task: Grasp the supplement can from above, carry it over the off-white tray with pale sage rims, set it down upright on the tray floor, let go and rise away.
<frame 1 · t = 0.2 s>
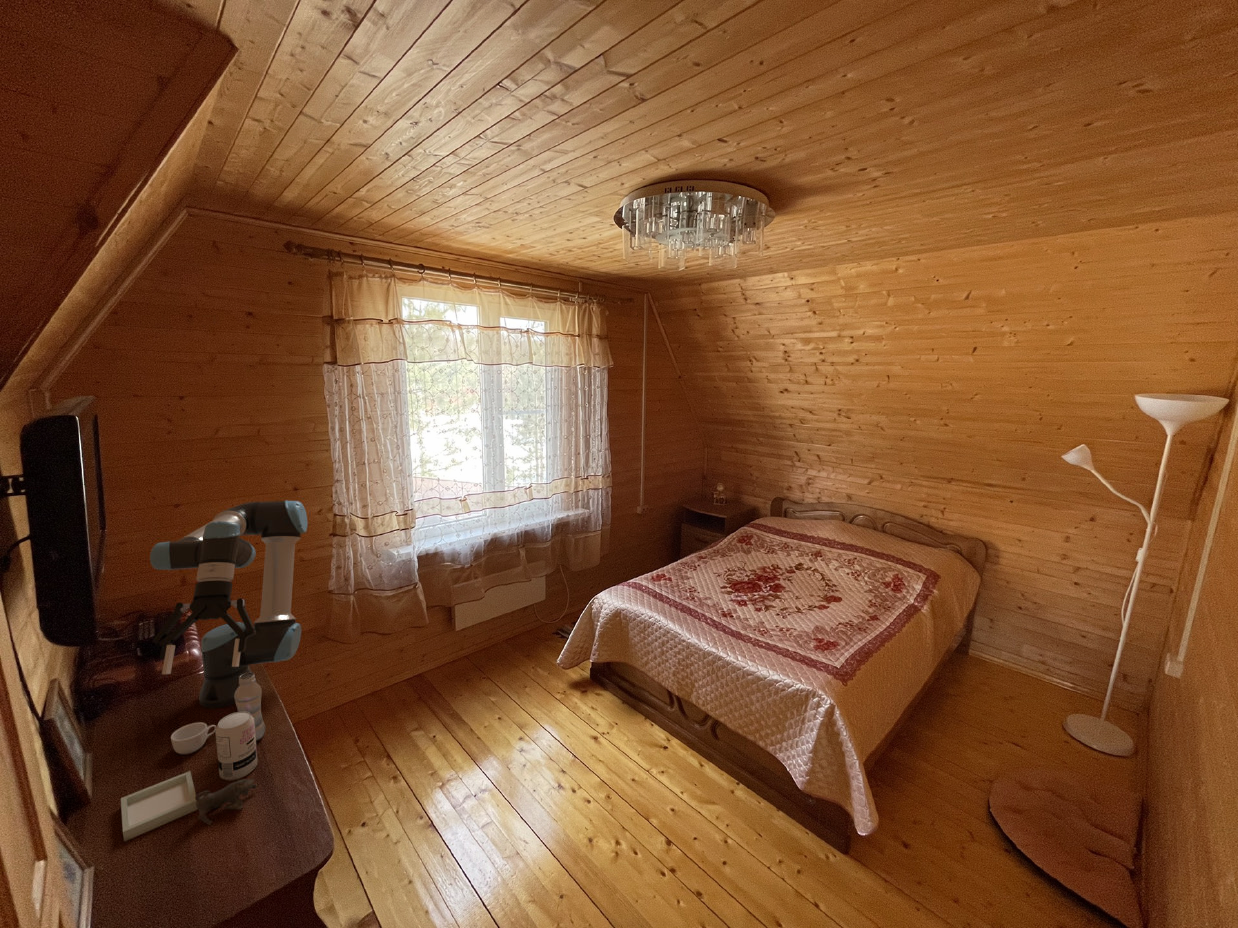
hand: (201, 670, 124), 34 cm above the table, tool tilted 30°, fingers open, 13 cm apart
teacup: (195, 747, 145), on the table
supplement can: (239, 771, 137), on the table
can tray: (160, 808, 124), on the table
plastic bottle: (252, 739, 149), on the table
dog figurine: (229, 809, 125), on the table
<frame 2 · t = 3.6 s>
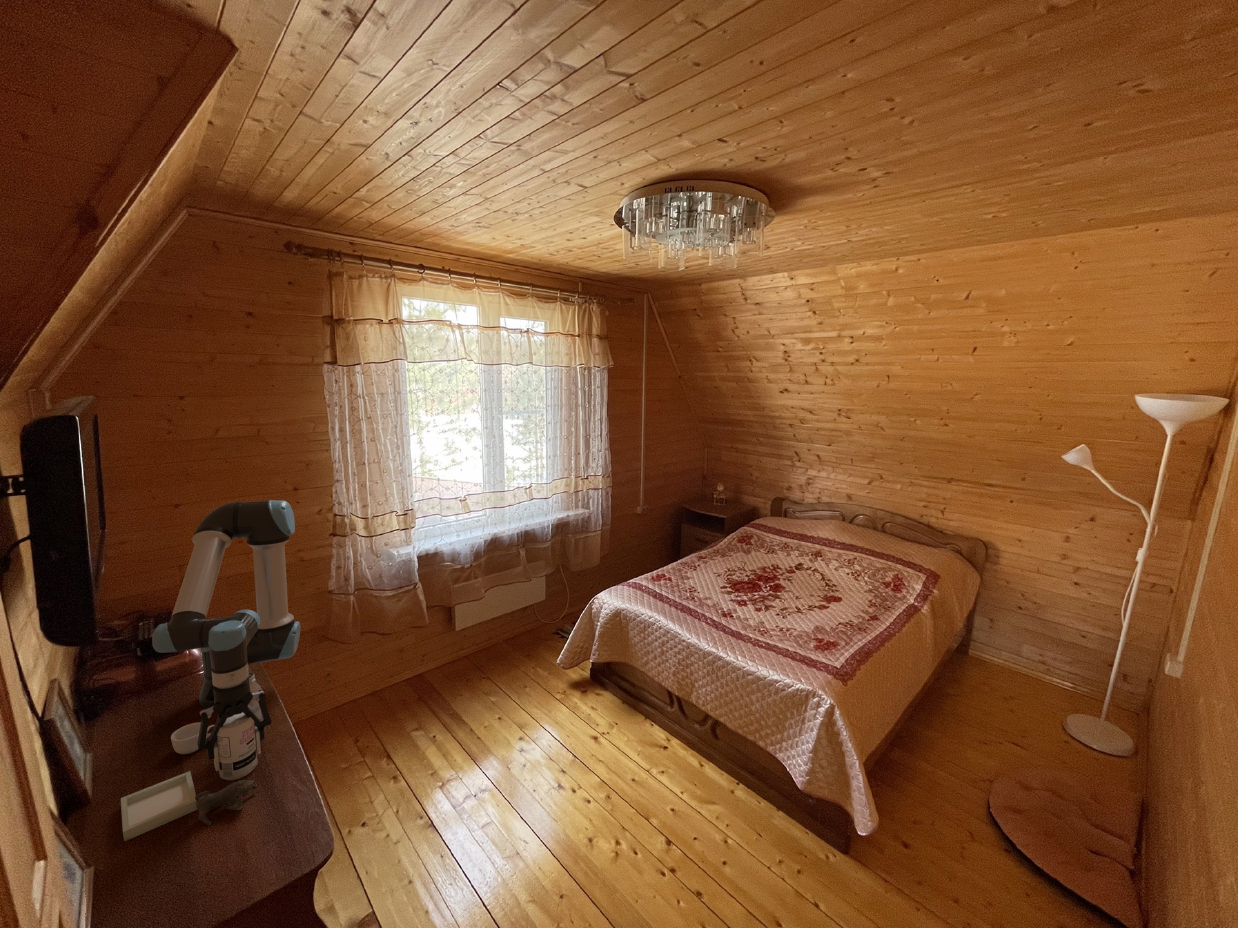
hand: (238, 759, 136), 3 cm above the table, tool pointing down, fingers closed on supplement can, 8 cm apart
supplement can: (239, 771, 137), on the table, touching gripper
everything else where it was.
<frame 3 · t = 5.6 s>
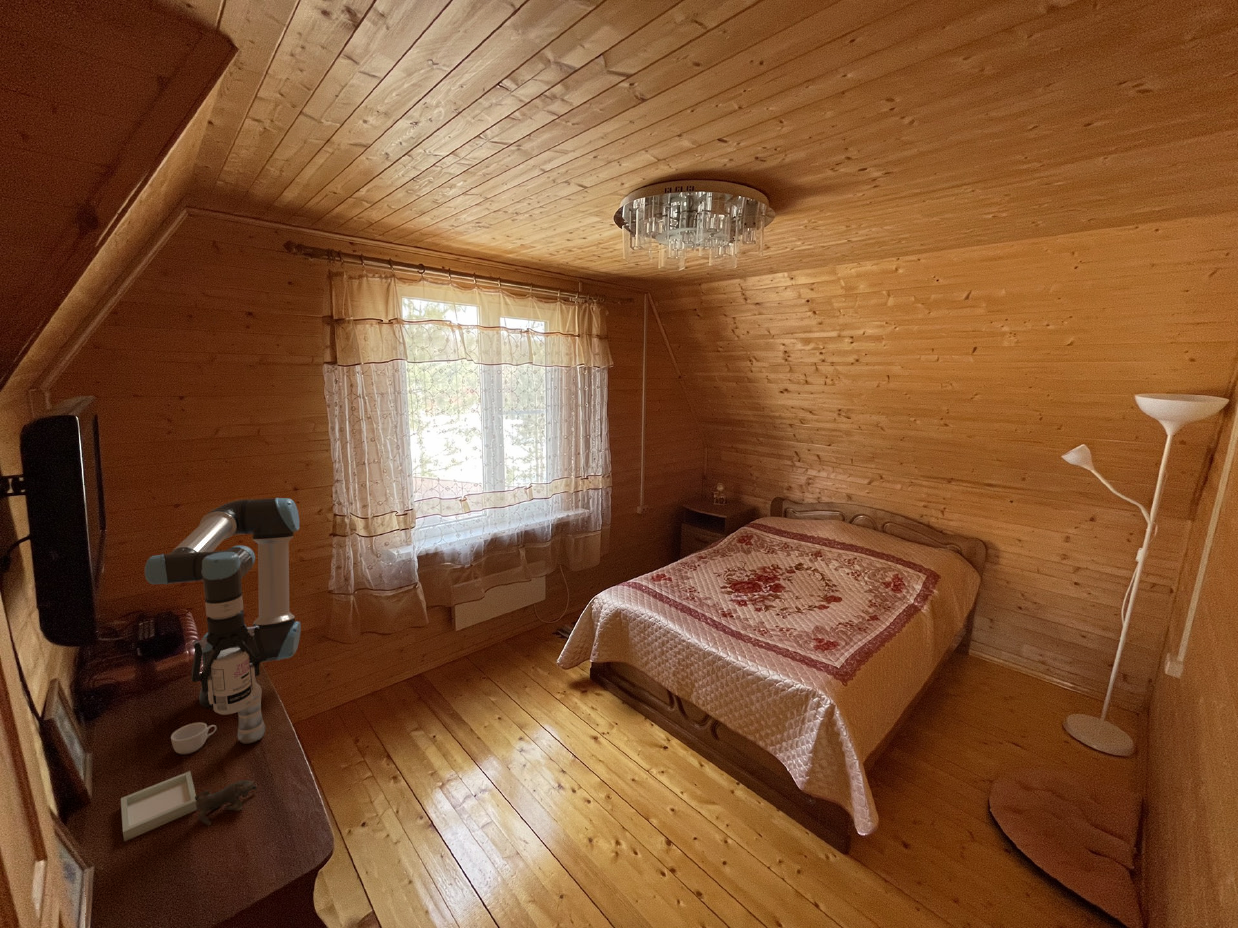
hand: (232, 694, 134), 22 cm above the table, tool pointing down, fingers closed on supplement can, 8 cm apart
supplement can: (233, 706, 134), point 19 cm above the table, touching gripper
everything else where it was.
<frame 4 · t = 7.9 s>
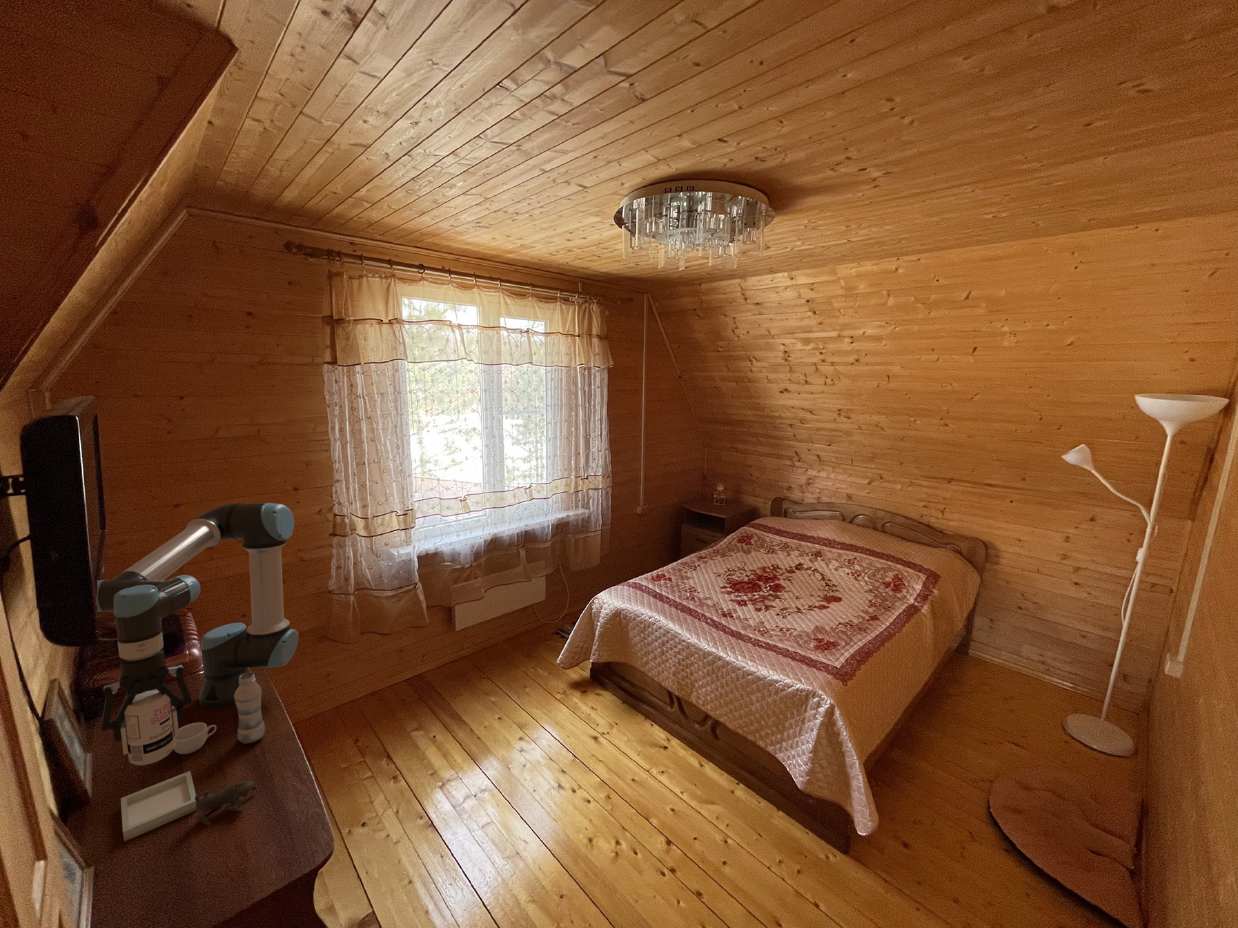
hand: (151, 742, 121), 18 cm above the table, tool pointing down, fingers closed on supplement can, 8 cm apart
supplement can: (153, 755, 122), point 15 cm above the table, touching gripper
everything else where it was.
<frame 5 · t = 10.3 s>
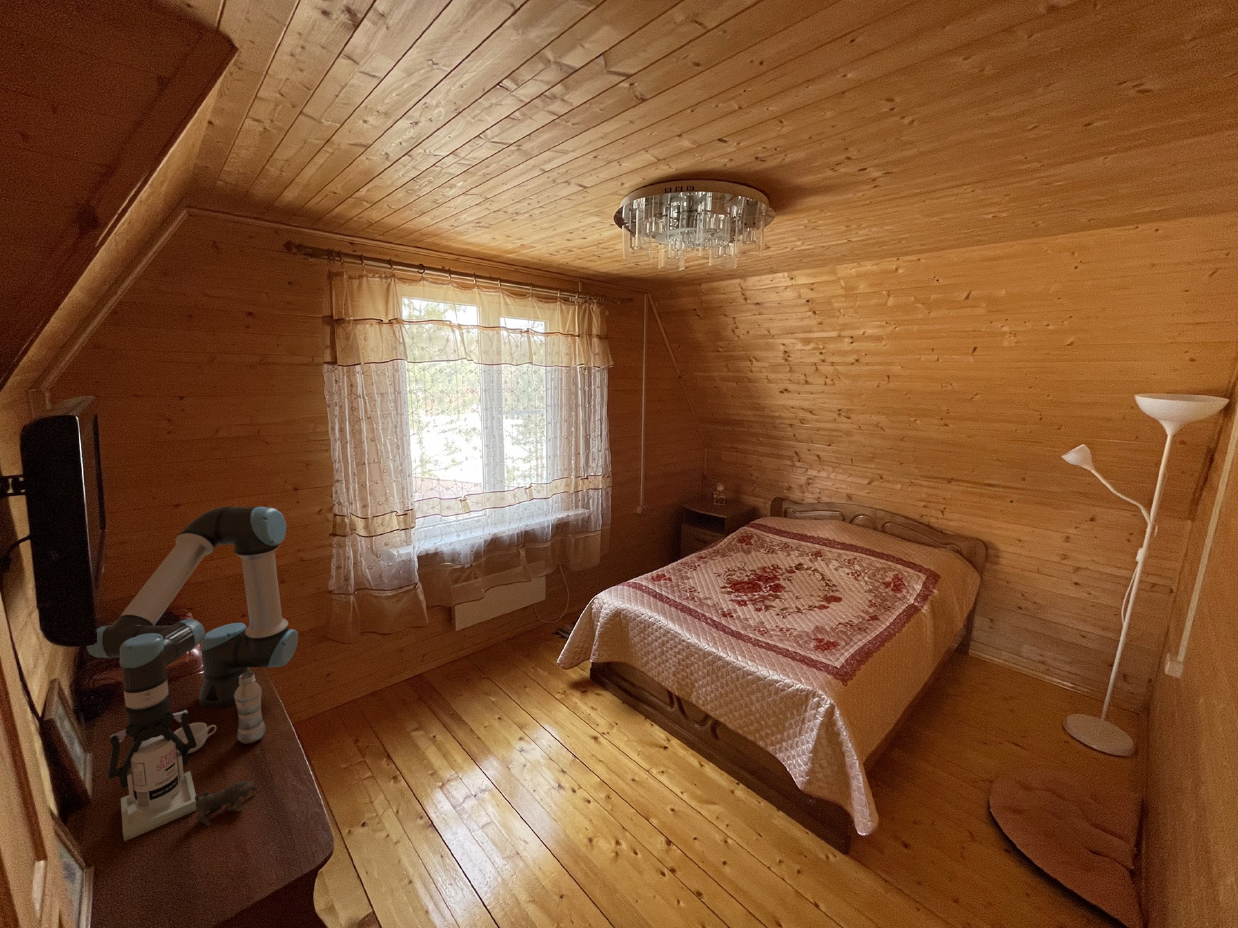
hand: (157, 786, 123), 6 cm above the table, tool pointing down, fingers closed on supplement can, 8 cm apart
supplement can: (158, 799, 124), point 2 cm above the table, touching gripper
everything else where it was.
when the fingers open (4 cm above the table, at t = 12.2 s): supplement can stays where it is, resting on can tray.
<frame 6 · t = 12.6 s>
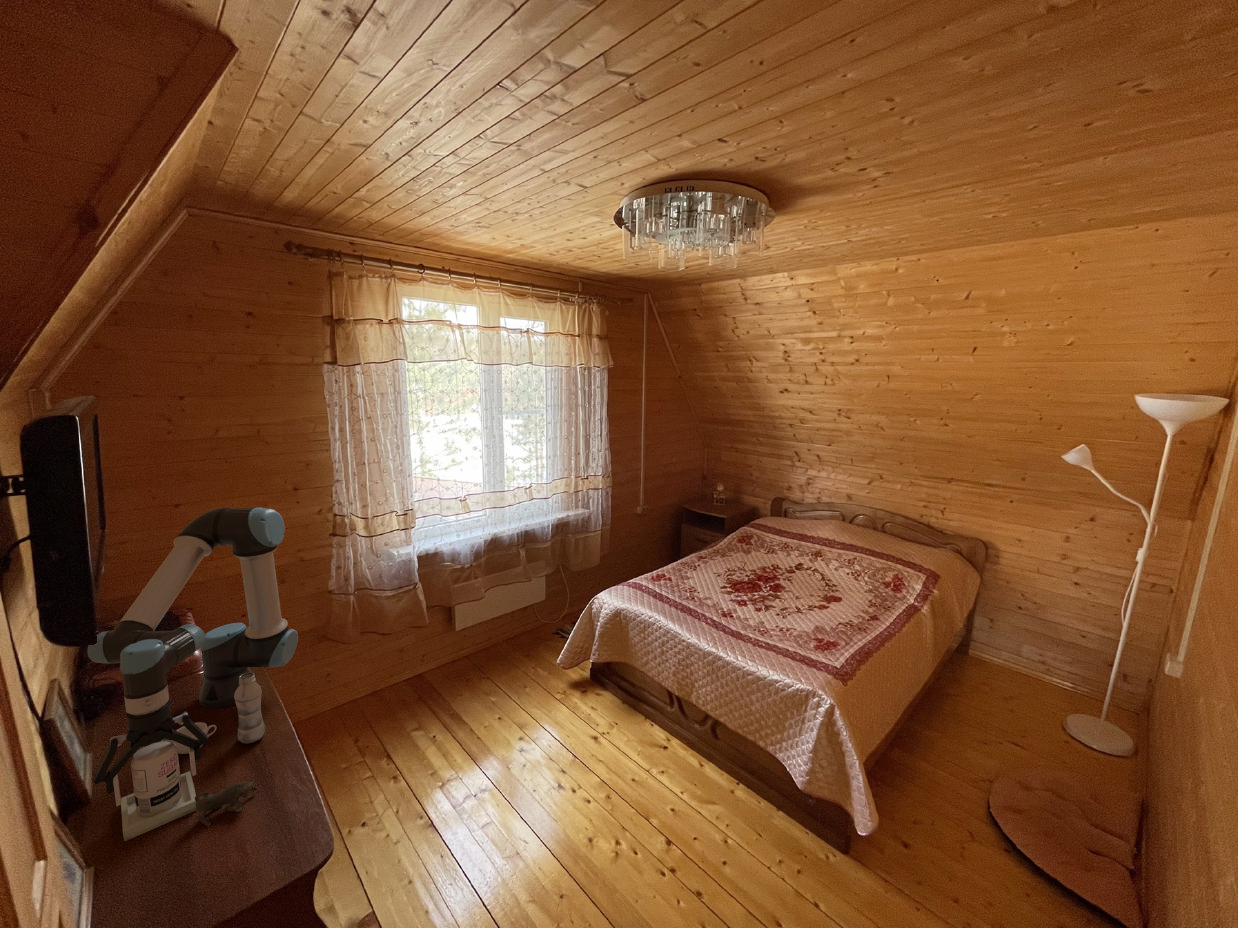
hand: (157, 786, 123), 6 cm above the table, tool pointing down, fingers open, 13 cm apart
supplement can: (160, 806, 124), point 1 cm above the table, touching can tray
everything else where it was.
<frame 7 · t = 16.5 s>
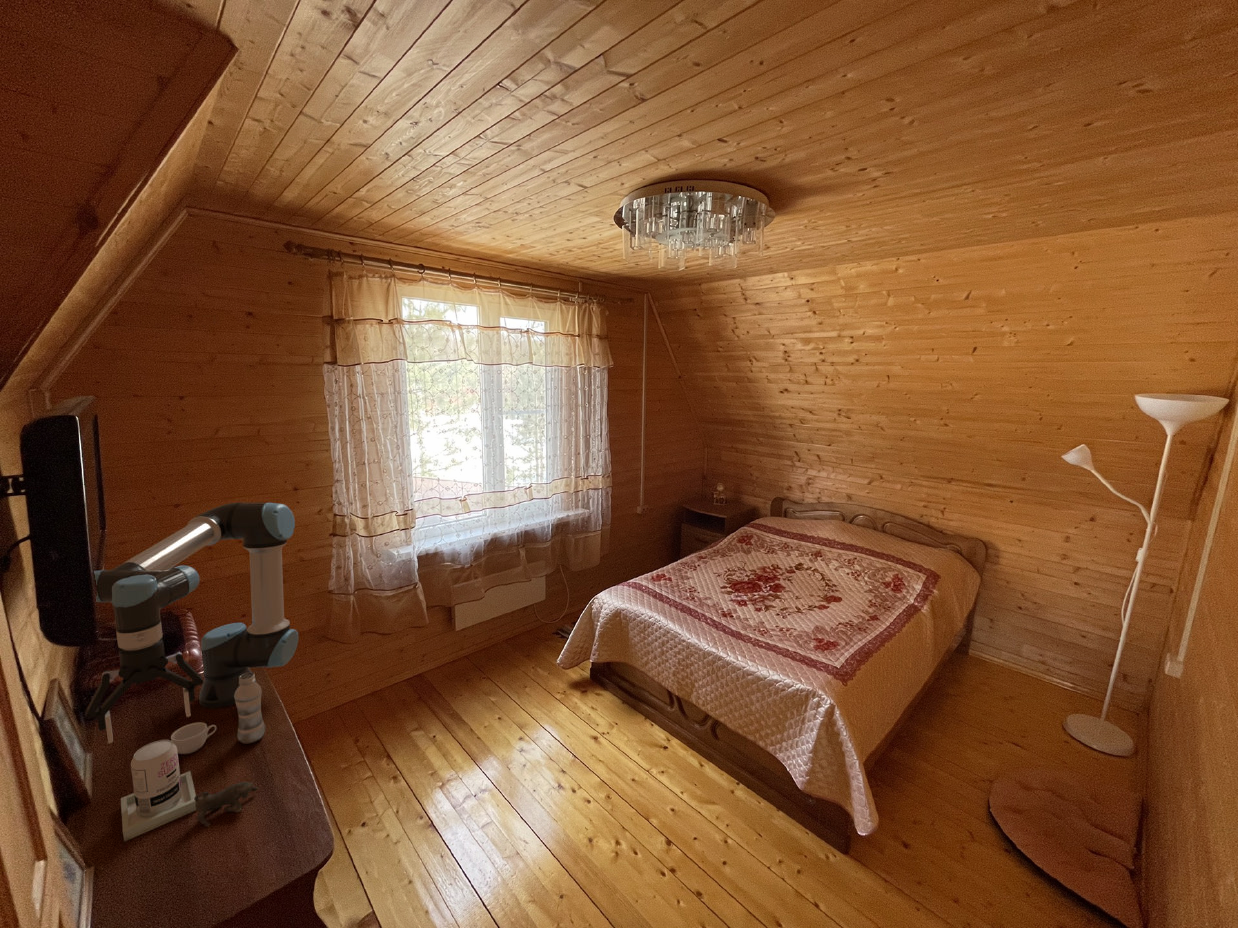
hand: (150, 726, 121), 22 cm above the table, tool pointing down, fingers open, 13 cm apart
nothing on the table moved.
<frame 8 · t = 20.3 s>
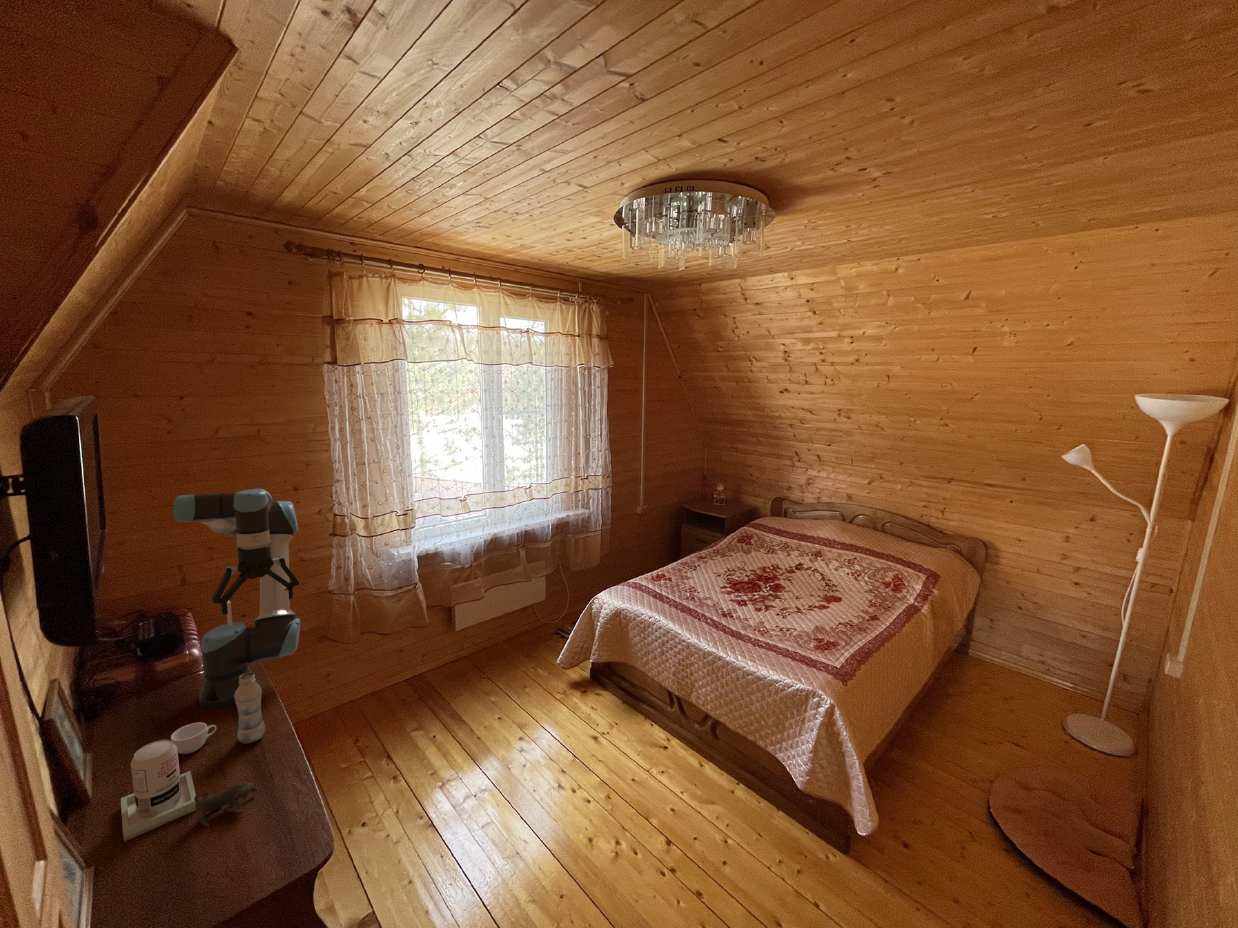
hand: (259, 616, 146), 37 cm above the table, tool pointing down, fingers open, 13 cm apart
nothing on the table moved.
at the end: supplement can 0.1 cm off-centre on the can tray, point 0.6 cm above the can tray's base; supplement can tilted 0°; the gripper is holding nothing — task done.
